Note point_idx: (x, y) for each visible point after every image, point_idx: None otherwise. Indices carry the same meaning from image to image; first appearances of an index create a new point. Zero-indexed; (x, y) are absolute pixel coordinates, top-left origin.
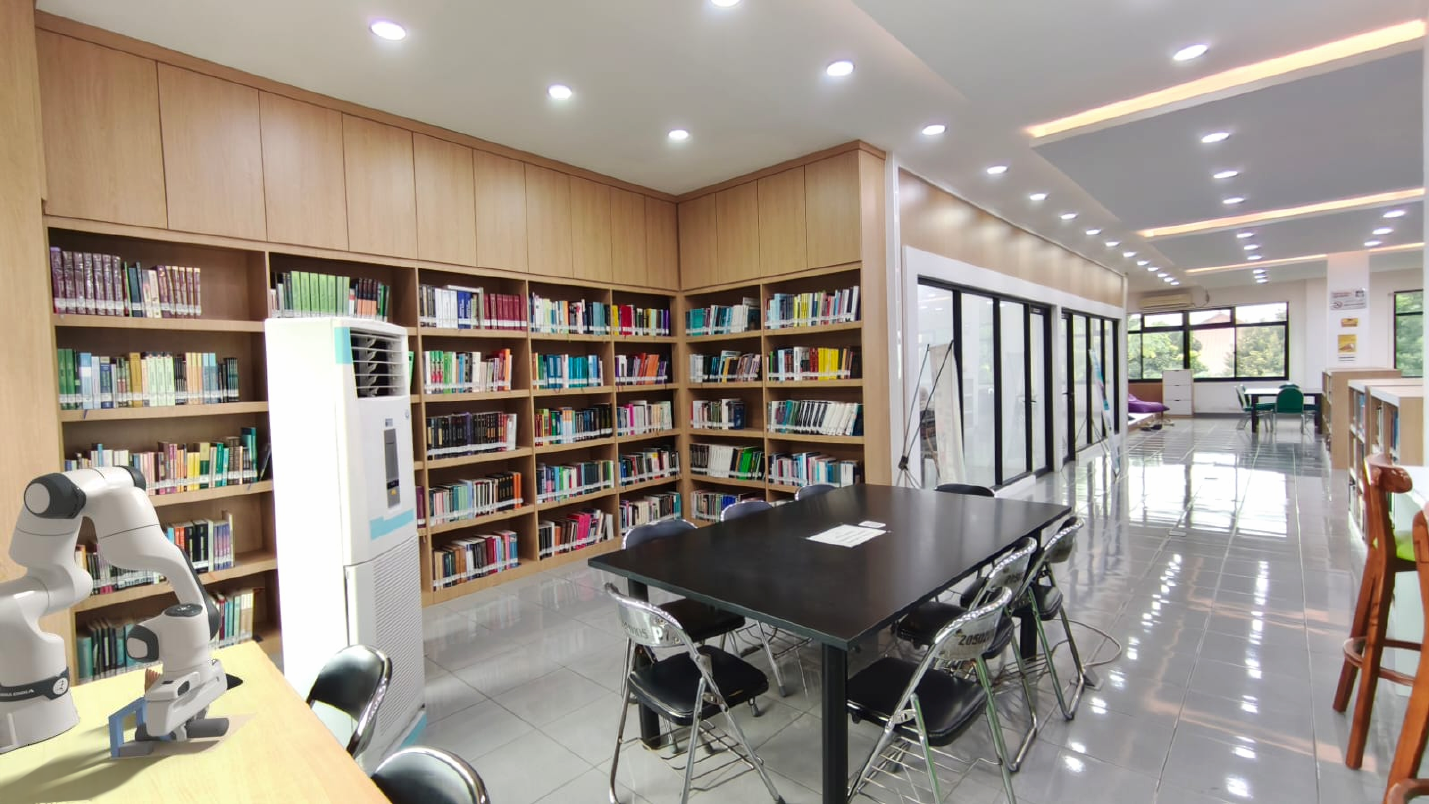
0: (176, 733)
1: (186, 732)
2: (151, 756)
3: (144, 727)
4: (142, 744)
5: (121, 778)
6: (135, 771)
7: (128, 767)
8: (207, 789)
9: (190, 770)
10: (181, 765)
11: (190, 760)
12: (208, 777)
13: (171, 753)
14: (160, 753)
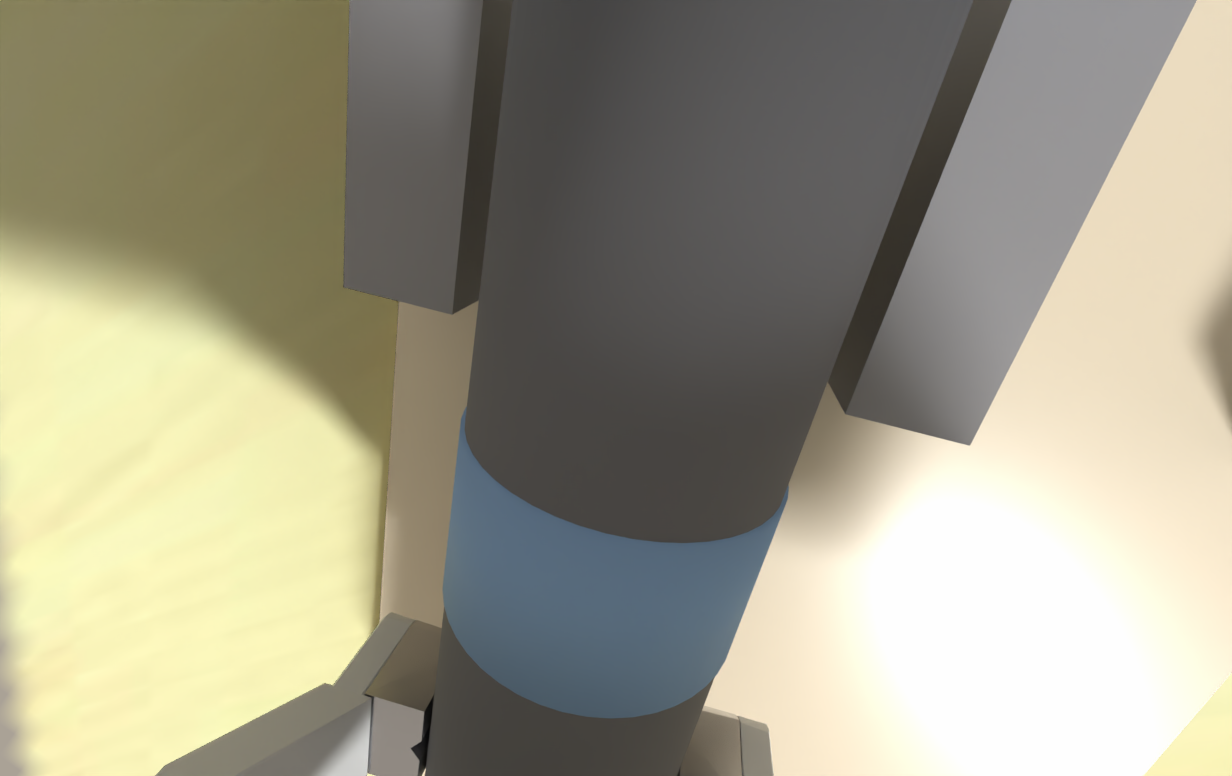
0: (310, 701)
1: (368, 765)
2: (399, 313)
3: (561, 65)
4: (368, 198)
5: (152, 157)
6: (258, 234)
7: (341, 100)
8: (59, 768)
9: (237, 651)
10: (307, 579)
11: (368, 616)
12: (159, 753)
13: (415, 491)
14: (438, 385)
